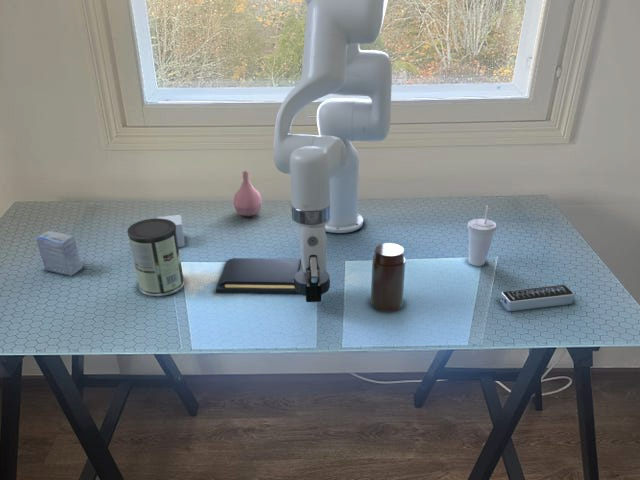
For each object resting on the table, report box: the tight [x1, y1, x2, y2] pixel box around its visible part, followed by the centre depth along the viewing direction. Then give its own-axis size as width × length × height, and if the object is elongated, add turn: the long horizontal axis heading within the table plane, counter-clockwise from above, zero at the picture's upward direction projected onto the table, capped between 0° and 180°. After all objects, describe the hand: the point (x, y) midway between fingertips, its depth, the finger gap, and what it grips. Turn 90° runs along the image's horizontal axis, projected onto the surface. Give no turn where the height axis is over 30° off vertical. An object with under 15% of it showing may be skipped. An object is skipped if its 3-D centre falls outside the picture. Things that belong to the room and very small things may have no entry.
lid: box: [294, 268, 331, 296], centre depth 135 cm, size 7×7×3 cm
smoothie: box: [467, 205, 498, 267], centre depth 148 cm, size 6×6×14 cm
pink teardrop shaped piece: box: [233, 170, 263, 218], centre depth 174 cm, size 8×8×12 cm
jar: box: [370, 242, 407, 313], centre depth 134 cm, size 7×7×13 cm
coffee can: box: [126, 217, 185, 297], centre depth 142 cm, size 10×10×14 cm
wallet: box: [215, 257, 303, 295], centre depth 148 cm, size 20×2×15 cm
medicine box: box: [35, 230, 83, 277], centre depth 151 cm, size 8×4×9 cm, turn 65°
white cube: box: [156, 214, 186, 248], centre depth 163 cm, size 6×6×6 cm
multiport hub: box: [499, 284, 575, 312], centre depth 136 cm, size 4×14×2 cm, turn 100°
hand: (312, 291), depth 137 cm, fingers closed on lid, 7 cm apart
